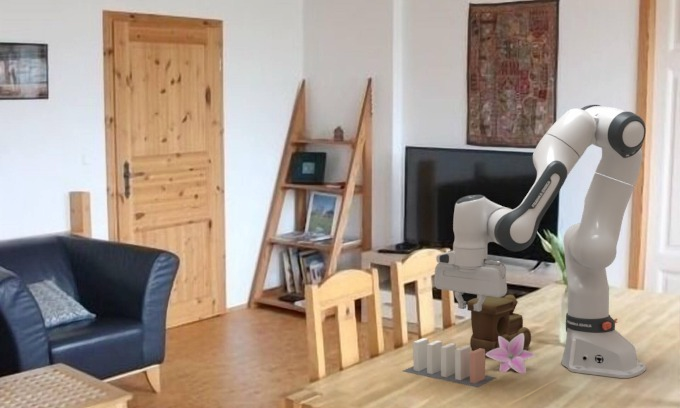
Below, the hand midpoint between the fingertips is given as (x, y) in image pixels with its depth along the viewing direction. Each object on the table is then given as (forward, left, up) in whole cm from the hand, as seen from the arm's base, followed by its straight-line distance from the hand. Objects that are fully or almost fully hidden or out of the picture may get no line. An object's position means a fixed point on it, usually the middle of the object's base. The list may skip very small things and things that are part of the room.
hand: (469, 309), depth 242 cm
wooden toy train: (+8, -29, -20) cm, 36 cm away
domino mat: (+7, 0, -19) cm, 21 cm away
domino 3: (+7, 0, -19) cm, 20 cm away
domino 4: (+2, 0, -19) cm, 19 cm away
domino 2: (+11, 0, -19) cm, 22 cm away
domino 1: (+16, 0, -19) cm, 25 cm away
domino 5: (-2, 0, -19) cm, 19 cm away
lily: (-4, -14, -20) cm, 25 cm away
